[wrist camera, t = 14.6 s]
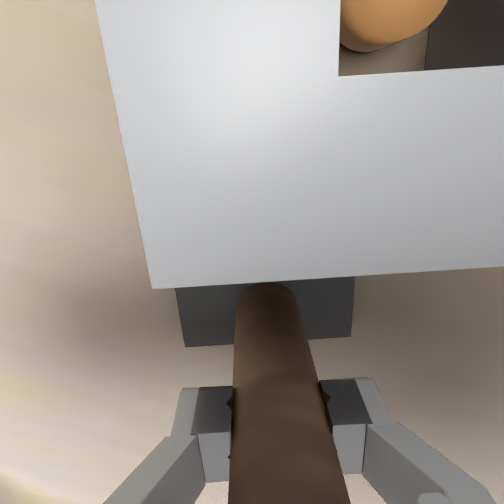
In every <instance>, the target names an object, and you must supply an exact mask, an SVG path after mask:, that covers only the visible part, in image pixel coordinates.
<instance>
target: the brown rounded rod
mask: <svg viewBox="0 0 504 504" xmlns="http://www.w3.org/2000/svg"><path fill="white" fill-rule="evenodd" d="M233 387H234V403H233V410H232V416H233V430H232V444H231V448H230V467H229V493H228V504H351V503H350V500H349V496H348V492H347V488H346V484H345V481H344V477H343V473H342V469H341V465H340V462H339V458H338V454H337V450H336V446H335V443H334V439H333V437H332V433H331V429H330V426H329V422H328V418H327V414H326V413H327V412H326V408H325V405H324V402H323V399H322V395H321V391H320V387H319V382H318V378H317V374H316V370H315V367H314V363H313V359H312V355H311V351H310V348H309V344H308V340H307V336H306V332H305V329H304V325H303V321H302V317H301V313H300V310H299V306H298V302H297V299H296V297H295V295H294V294H293V293H292V292H291V291H290V290H289V289H288V288H287V287H285V286H283V285H281V284H278V283H273V282H263V283H258V284H255V285H253V286H251V287H249V288H248V289H246V290H245V291H244V292H243V293H242V294H241V295H240V297H239V299H238V301H237V304H236V316H235V341H234V366H233Z"/></svg>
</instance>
